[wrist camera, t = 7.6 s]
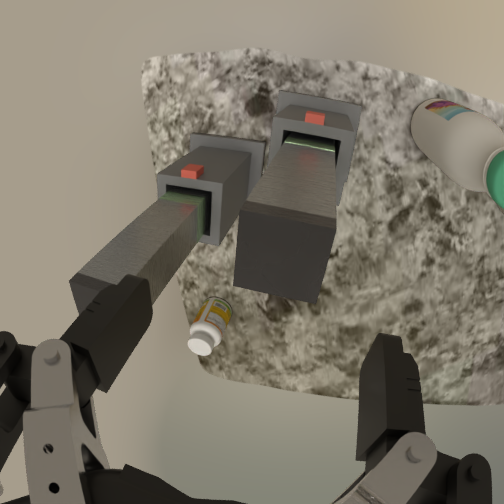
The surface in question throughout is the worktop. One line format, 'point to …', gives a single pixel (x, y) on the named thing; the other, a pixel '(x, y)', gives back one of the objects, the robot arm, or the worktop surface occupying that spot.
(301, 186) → the column
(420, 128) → the milk bottle
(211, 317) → the supplement bottle
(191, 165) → the stand
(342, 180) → the stand
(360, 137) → the worktop surface
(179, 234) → the column
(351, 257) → the worktop surface
